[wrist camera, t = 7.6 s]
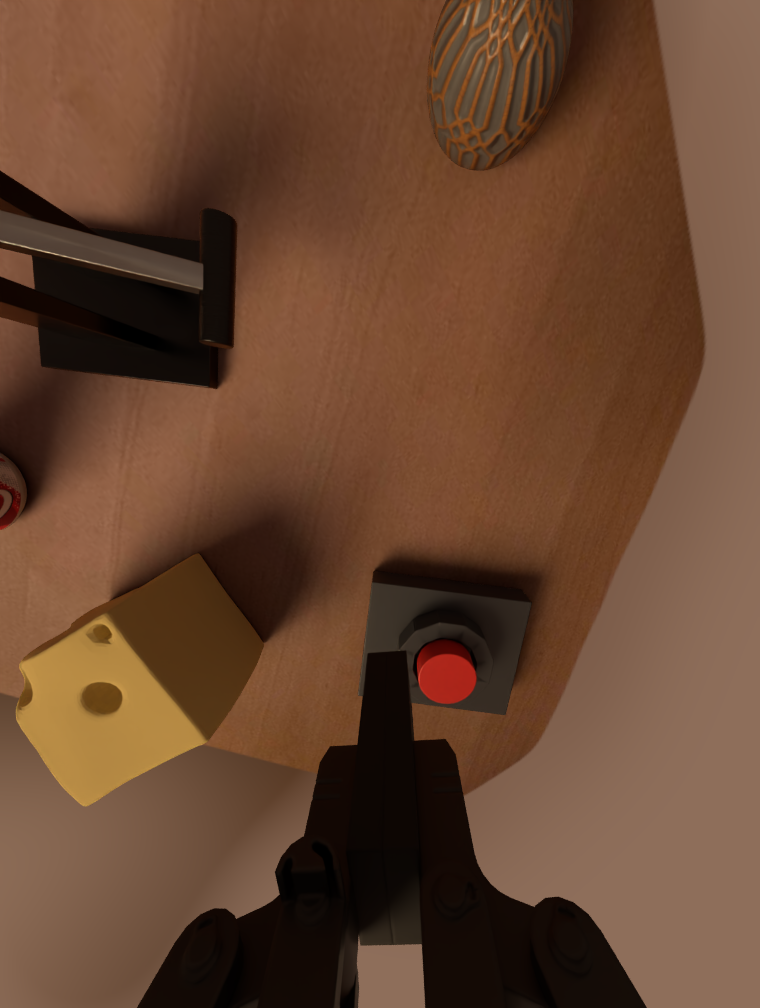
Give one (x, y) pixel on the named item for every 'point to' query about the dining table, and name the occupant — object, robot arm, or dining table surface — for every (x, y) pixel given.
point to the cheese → (137, 680)
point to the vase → (495, 75)
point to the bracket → (107, 308)
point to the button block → (450, 631)
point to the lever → (146, 263)
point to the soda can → (10, 492)
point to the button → (446, 671)
